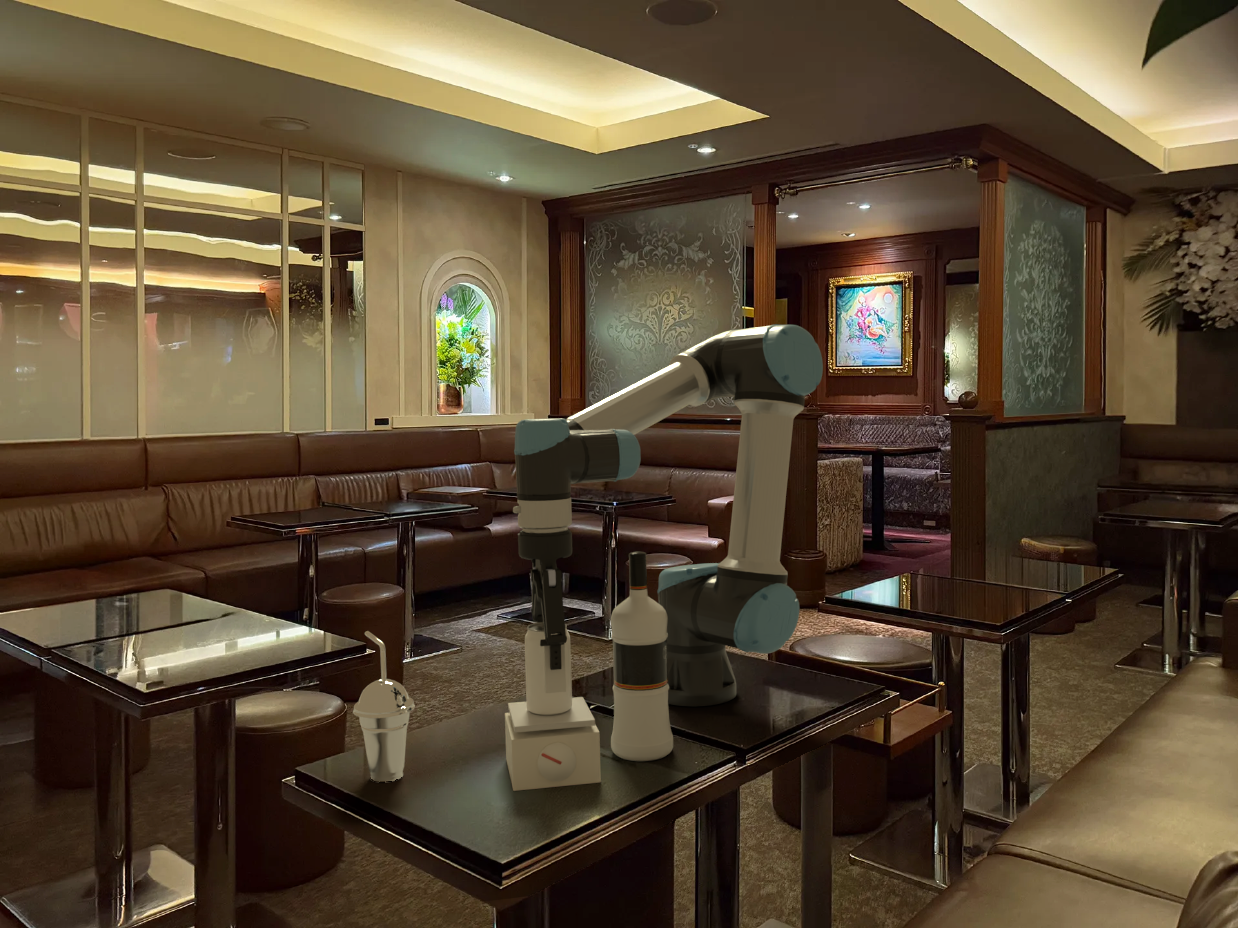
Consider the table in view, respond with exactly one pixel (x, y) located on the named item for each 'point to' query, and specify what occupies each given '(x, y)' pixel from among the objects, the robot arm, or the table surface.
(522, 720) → the scale
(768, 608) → the robot arm
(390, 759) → the cup with straw
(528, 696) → the can
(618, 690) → the vodka
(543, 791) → the table surface
